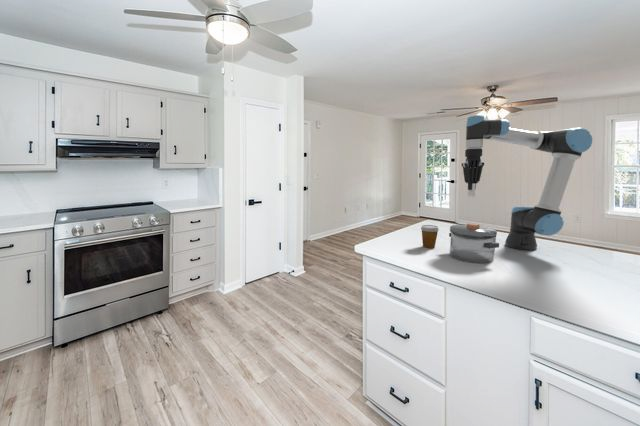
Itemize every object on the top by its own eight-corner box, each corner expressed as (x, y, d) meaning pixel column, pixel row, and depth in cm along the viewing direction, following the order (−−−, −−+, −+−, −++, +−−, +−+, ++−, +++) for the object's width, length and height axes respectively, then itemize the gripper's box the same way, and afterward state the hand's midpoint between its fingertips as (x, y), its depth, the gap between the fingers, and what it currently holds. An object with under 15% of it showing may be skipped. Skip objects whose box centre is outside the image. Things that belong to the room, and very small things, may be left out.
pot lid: (471, 227, 163) (472, 219, 162) (506, 236, 144) (507, 227, 143) (440, 229, 156) (441, 221, 155) (473, 239, 137) (474, 229, 136)
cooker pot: (468, 248, 168) (470, 227, 166) (510, 261, 144) (513, 237, 142) (437, 252, 160) (439, 230, 158) (476, 267, 137) (478, 241, 135)
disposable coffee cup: (435, 245, 174) (436, 224, 172) (439, 249, 165) (441, 228, 163) (418, 244, 175) (419, 224, 173) (422, 249, 166) (423, 228, 164)
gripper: (477, 148, 153) (474, 194, 157) (457, 149, 148) (455, 196, 152) (490, 148, 146) (487, 196, 150) (470, 148, 142) (467, 197, 145)
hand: (471, 196), depth 151 cm, fingers closed
